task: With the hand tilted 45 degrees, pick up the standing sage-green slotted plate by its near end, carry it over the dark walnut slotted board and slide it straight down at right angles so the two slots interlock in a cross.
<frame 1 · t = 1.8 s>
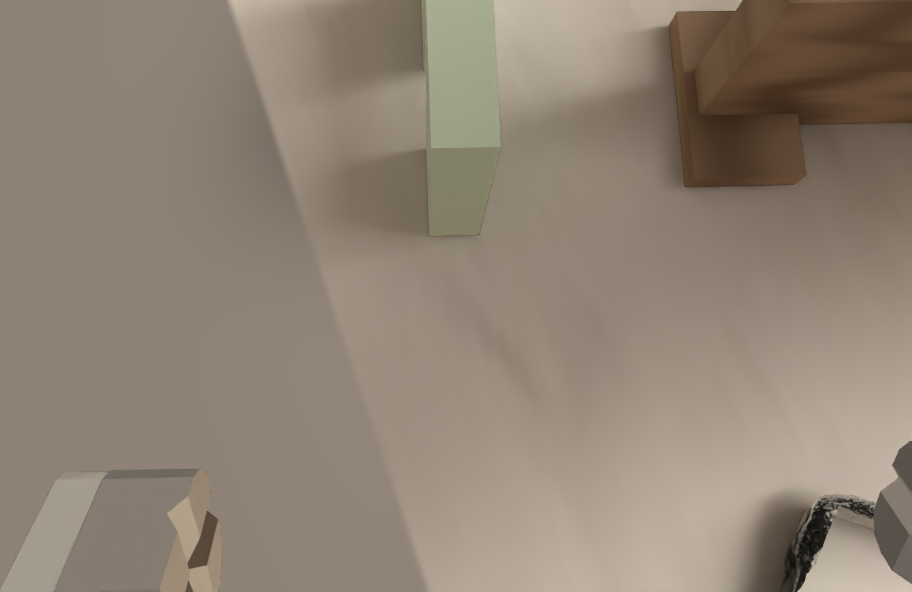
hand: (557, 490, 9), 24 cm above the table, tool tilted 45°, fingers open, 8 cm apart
green slotted plate: (448, 108, 35), on the table
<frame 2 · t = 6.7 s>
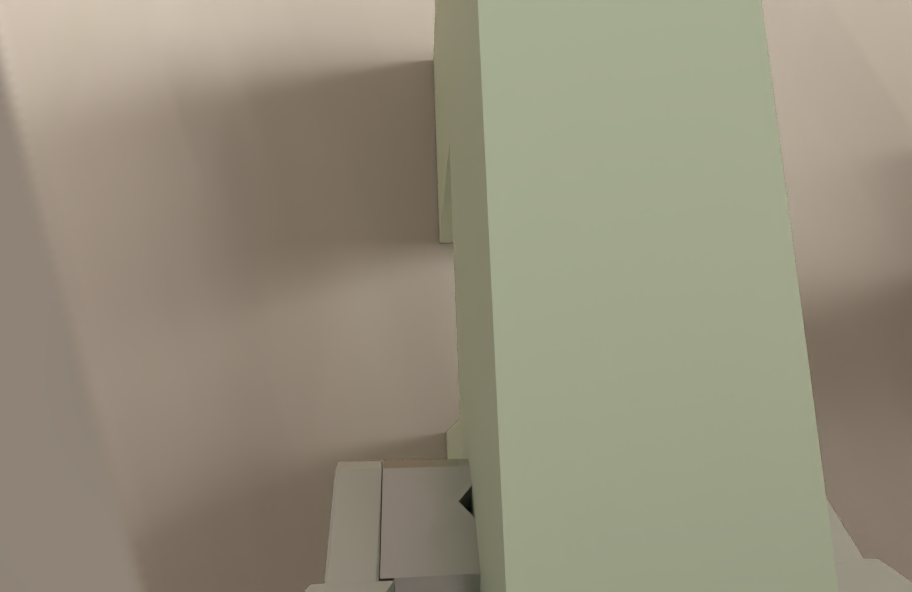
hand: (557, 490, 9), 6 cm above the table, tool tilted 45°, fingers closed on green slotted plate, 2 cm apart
green slotted plate: (497, 333, 16), on the table, touching gripper
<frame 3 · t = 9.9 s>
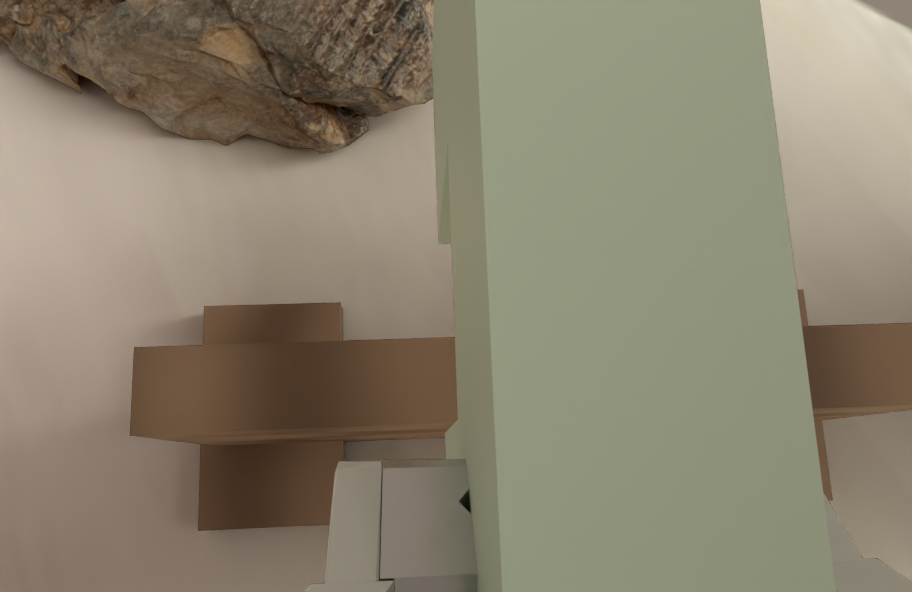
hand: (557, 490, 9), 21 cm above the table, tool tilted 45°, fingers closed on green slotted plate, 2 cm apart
walnut slotted board: (513, 405, 30), on the table
green slotted plate: (496, 334, 16), point 15 cm above the table, touching gripper
brown rock: (242, 9, 33), on the table
when the fingers open (7 cm above the table, at t = 13.3 s): green slotted plate stays where it is, on the table.
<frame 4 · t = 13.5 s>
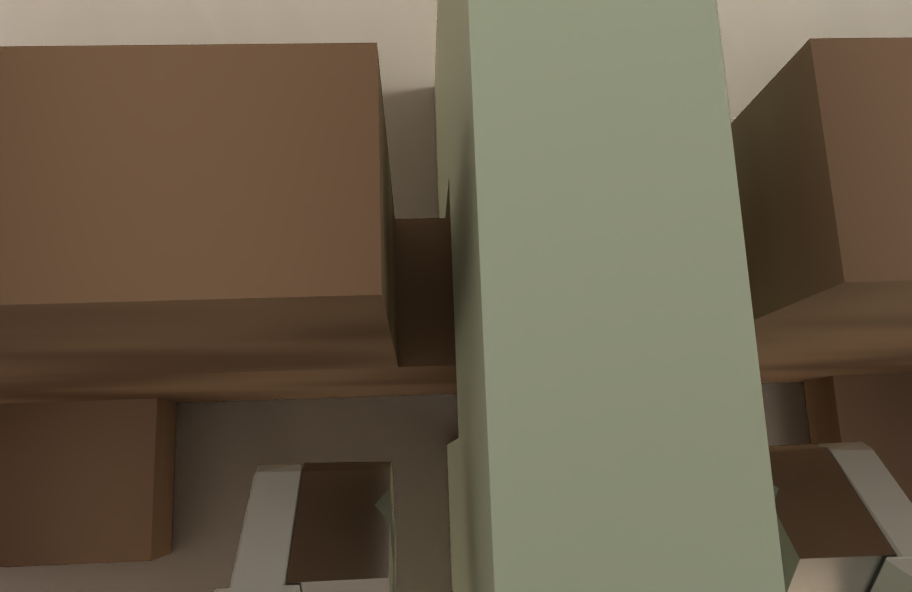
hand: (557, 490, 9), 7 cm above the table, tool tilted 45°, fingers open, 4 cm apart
walnut slotted board: (494, 339, 16), on the table
green slotted plate: (496, 350, 16), on the table
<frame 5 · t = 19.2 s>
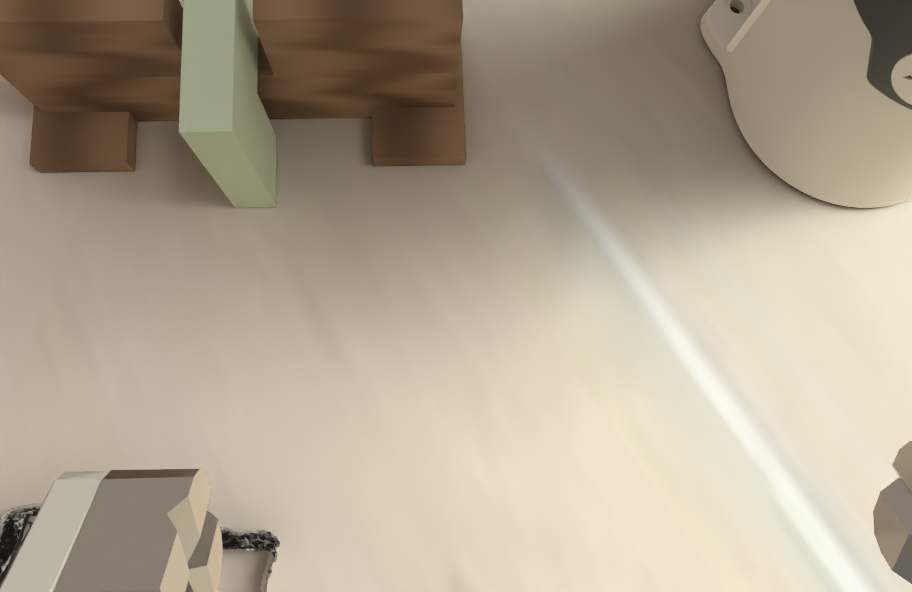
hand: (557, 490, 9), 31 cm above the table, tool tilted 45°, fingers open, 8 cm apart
walnut slotted board: (256, 100, 43), on the table
green slotted plate: (257, 104, 43), on the table
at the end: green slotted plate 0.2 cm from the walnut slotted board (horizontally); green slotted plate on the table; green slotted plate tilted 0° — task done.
